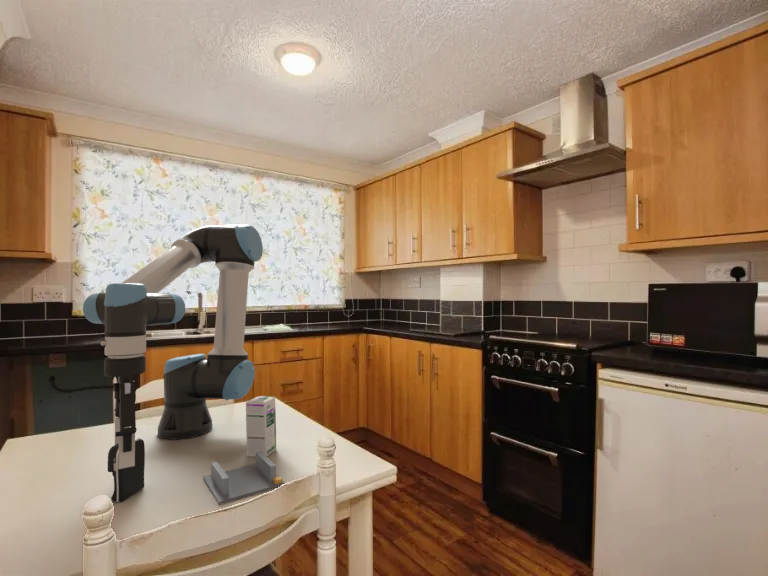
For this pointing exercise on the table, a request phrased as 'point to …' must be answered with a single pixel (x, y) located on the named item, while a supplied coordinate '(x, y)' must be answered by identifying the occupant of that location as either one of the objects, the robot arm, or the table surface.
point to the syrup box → (261, 425)
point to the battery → (127, 472)
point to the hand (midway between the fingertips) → (124, 456)
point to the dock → (242, 479)
